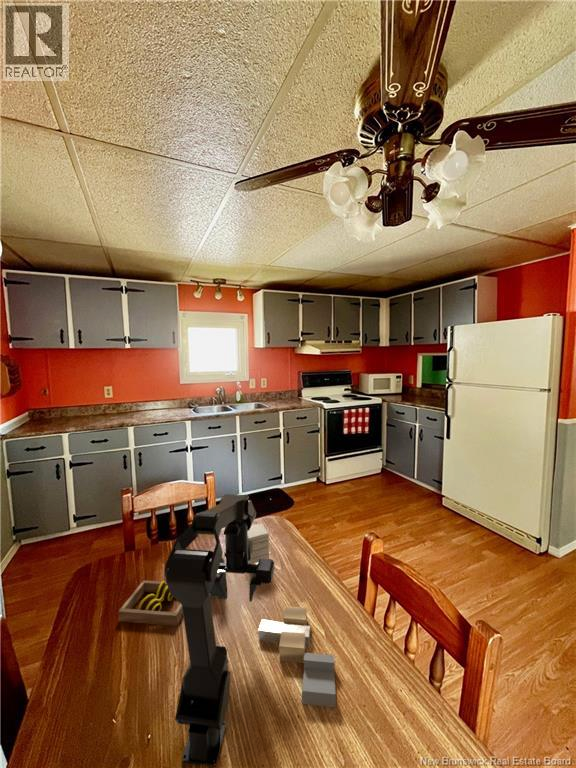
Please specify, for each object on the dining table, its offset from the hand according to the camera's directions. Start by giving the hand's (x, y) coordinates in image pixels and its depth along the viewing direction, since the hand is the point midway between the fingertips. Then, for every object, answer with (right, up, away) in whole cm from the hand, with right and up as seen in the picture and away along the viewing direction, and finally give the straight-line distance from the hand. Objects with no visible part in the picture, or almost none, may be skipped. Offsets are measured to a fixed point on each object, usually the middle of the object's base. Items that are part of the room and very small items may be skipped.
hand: (238, 599), depth 80 cm
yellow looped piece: (-25, -10, +11) cm, 29 cm away
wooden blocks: (+15, -10, -1) cm, 18 cm away
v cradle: (+20, -11, -12) cm, 25 cm away
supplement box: (+2, -8, +29) cm, 30 cm away
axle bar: (+12, -10, 0) cm, 16 cm away
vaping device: (-9, -9, +15) cm, 20 cm away
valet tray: (-25, -10, +11) cm, 29 cm away
